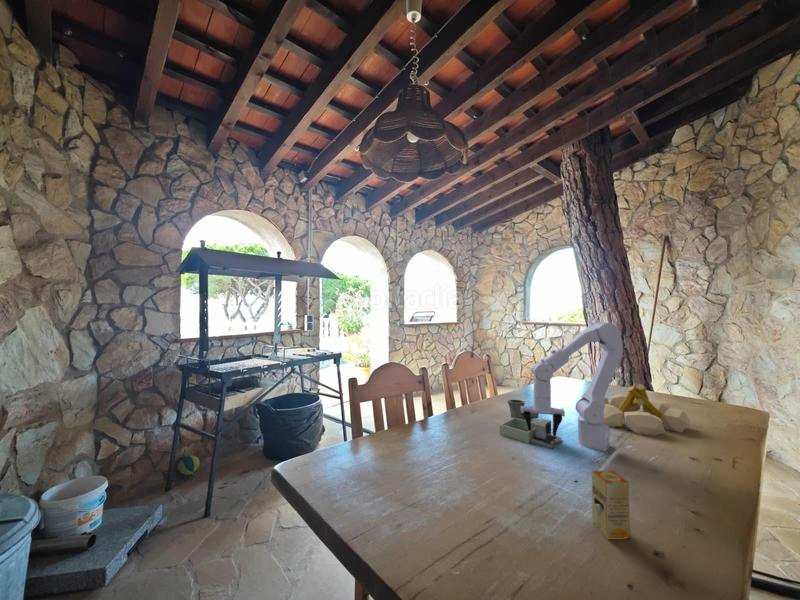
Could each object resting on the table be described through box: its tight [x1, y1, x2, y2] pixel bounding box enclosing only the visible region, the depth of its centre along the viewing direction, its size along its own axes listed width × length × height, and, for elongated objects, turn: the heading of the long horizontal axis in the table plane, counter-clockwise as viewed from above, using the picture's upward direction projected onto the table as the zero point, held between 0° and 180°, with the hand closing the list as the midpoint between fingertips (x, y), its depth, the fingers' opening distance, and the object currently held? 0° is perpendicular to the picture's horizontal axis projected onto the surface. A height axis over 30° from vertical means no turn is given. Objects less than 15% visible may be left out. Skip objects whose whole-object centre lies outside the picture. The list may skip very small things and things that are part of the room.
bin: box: [499, 418, 535, 444], centre depth 125 cm, size 11×11×5 cm
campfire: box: [601, 382, 692, 437], centre depth 141 cm, size 35×34×17 cm
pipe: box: [507, 399, 539, 420], centre depth 144 cm, size 6×13×8 cm, turn 89°
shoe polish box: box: [591, 470, 631, 539], centre depth 72 cm, size 5×5×12 cm
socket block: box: [528, 434, 563, 450], centre depth 118 cm, size 10×10×2 cm
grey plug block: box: [534, 418, 552, 443], centre depth 119 cm, size 4×5×7 cm
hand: (542, 433), depth 119 cm, fingers open, 7 cm apart
